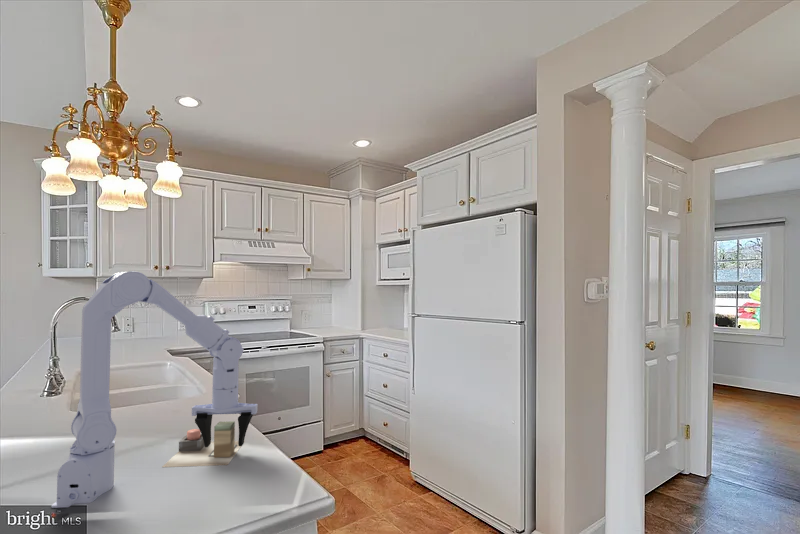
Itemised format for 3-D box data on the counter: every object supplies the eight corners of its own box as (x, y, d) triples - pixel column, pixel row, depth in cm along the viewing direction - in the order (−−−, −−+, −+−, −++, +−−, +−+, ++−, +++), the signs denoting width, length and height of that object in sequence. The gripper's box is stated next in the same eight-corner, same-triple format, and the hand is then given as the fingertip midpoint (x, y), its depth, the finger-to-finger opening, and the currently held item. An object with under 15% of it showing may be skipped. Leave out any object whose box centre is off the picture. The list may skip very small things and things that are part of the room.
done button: (197, 443, 106) (197, 432, 106) (184, 444, 106) (185, 433, 106) (202, 439, 109) (202, 428, 109) (189, 439, 109) (189, 429, 109)
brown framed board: (230, 470, 96) (230, 456, 96) (153, 473, 94) (154, 459, 94) (250, 441, 114) (250, 429, 114) (186, 442, 112) (186, 431, 112)
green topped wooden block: (229, 456, 101) (230, 426, 101) (213, 457, 101) (214, 426, 101) (234, 450, 105) (234, 421, 105) (218, 451, 104) (219, 421, 105)
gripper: (260, 382, 108) (259, 438, 108) (199, 383, 107) (198, 439, 106) (253, 389, 101) (252, 449, 101) (188, 390, 100) (187, 451, 99)
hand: (224, 445), depth 103 cm, fingers open, 7 cm apart
